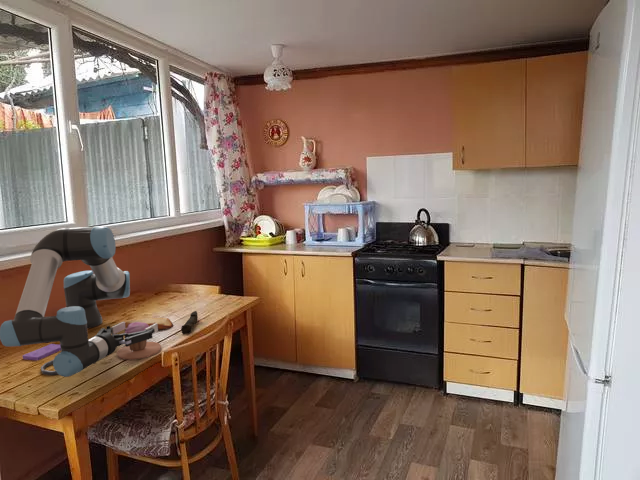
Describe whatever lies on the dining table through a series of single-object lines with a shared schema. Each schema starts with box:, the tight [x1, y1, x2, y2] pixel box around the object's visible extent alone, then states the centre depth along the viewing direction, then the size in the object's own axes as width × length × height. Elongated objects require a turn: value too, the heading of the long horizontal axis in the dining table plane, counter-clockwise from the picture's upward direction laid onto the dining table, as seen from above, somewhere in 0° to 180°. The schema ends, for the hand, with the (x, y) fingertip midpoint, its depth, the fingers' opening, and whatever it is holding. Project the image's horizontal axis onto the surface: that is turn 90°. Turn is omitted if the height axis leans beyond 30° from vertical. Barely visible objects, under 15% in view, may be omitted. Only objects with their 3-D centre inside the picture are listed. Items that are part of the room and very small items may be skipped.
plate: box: [116, 341, 162, 361], centre depth 169 cm, size 15×15×1 cm
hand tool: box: [180, 310, 199, 335], centre depth 196 cm, size 19×4×5 cm, turn 0°
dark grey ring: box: [40, 359, 60, 376], centre depth 157 cm, size 13×13×1 cm
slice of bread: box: [125, 317, 174, 331], centre depth 197 cm, size 18×18×4 cm
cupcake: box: [124, 322, 149, 351], centre depth 168 cm, size 9×9×10 cm
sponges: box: [22, 343, 61, 361], centre depth 171 cm, size 7×13×2 cm, turn 164°
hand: (140, 326), depth 169 cm, fingers open, 13 cm apart
